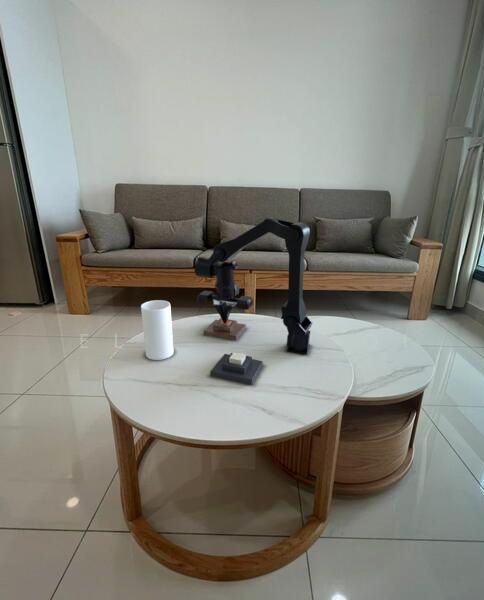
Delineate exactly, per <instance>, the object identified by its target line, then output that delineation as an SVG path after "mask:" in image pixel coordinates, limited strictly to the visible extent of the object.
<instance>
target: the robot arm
mask: <svg viewBox="0 0 484 600" xmlns="http://www.w3.org/2000/svg"><path fill="white" fill-rule="evenodd" d="M268 234H273V236H276V237H278V238H280V239H283V240H284V245H285V247H286V250H287V251H286V252H287V253H288V292H287V294H288V295H287V301H285V303H284V304H283V305H282V306H281V317H280V319H281V320H282V323H283V325H284V326H285V327H286V330H287V333H288V334H287V337H286V347H287V348H286V351H287V352H290V353H294V354H295V353H296V354H301V355H307V354H308V352H309V350H310V348H311V347H310V346H311V344H310V339H311V330H310V329H311V328H312V326H313V323H314V322H313V321H312V320H311V319H310V317H309V316H308V315H307V309H306V304H305V301H304V299H303V298H304V297H303V295H304V293H303V292H304V265H305V252H306V249H307V247H308V243H309V238H310V234H311V231H310V227H309V225H307V224H306V223H304V222H300V221H299V222H292V221H287V220H284V219H279V218H277V217H275V216H271V217H267V218H265V219H264V220H263V221H261V222H260V223H258V224H256V225H255V226H253V227H251V228H250V229H248V230H247V231H245V232H243V233H242V234H240V235H238V236H237V237H235V238H233V239H230V240H227V241H224V242H221V243H217V244H215V246H214V247H213V248H212V249H213V251H212V254H211V255H210V257H205V256H198V257H197V261H196V263H195V266H194V274H195V276H197V277H200V278H208V279H214V278H215V277H216V278H215V280H216V283H215V284H214V288H216V294H215V291H211V290H203V291H202V292H200V293H198V294H197V298H196V300H197V301H196V302H197V303H198V304H207V303H208V301H213V302H212V303H213V304H212V308H214V309H215V310H216V311H217V313H218V315H219V317H220V318H222V320H223V322H224V323H226V322H227V320H228V319H229V318H230V315H231V312H232V310H234V308H235V307H237V308H238V309H239V310H246V311H248V310H249V309H251V307H252V306H253V305H254V299H253V297H252V296H247V295H241V296H240V297H239V298H238V297H236V296H237V295H239V293H240V285H236V281H234V279H235V278H234V277H235V276H234V271H235V270H237V269H239V268H240V266H241V265H240V264H239V263H237V262H236V260H232V259H234V258H235V257H236V256H237V255H239V253H240V252H241V251H242V250H243V249H245V248H246V247H247V246H249V245H251V244H252V243H254V242H256V241H258V240H259V239H261V238H264V236H266V235H268ZM229 260H232V261H231V262H229Z"/></svg>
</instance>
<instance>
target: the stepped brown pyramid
mask: <svg viewBox="0 0 484 600" xmlns="http://www.w3.org/2000/svg"><path fill="white" fill-rule="evenodd" d="M221 321H222V318H221V317H220V318H219V319H214V320H213V322H211V323H210V324H209V325H208V326H207V327H206V328H205V329H204V330H203V335H204V336H207V337H213V338H219V339H225V340H231V341H237V340H238V339H239V338H240V336H241V335H242V334H243V333H244V331H245V330H246V328H247V325H246V324H245V323H238V320H235V319H229V318H228V320H227V321H232V323H231V324H230V325H229V326H225V325H219V323H220V322H221Z"/></svg>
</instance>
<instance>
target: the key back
mask: <svg viewBox="0 0 484 600" xmlns="http://www.w3.org/2000/svg"><path fill="white" fill-rule="evenodd" d="M231 323H232V321H227V322H226V323H224V322H223V320H222V321H221V322H220V323H219V325H225V326H229V325H230V324H231Z"/></svg>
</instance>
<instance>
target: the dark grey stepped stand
mask: <svg viewBox="0 0 484 600" xmlns="http://www.w3.org/2000/svg"><path fill="white" fill-rule="evenodd" d="M233 353H234V352H230V354H228V353H224V354H223V355H222V356H221V358H220V359H219V360H218V361H217V363H216V364H215V365H214V366H213V367H212V369H211V370H210V377H212V378H217V379H222V380H227V381H232V382H235V383H240V384H246V385H250V386H252V385H253V384H254V382H255V380H256V378H257V377H258V375H259V373H260V372H261V369H262V368H263V365H264V361H263V360H259V359H255V358H253V356H250V355H246V360H245V361H244V363H243V364H242V365H237V364H232V363H229V358H230V356H231V355H232V354H233Z"/></svg>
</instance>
